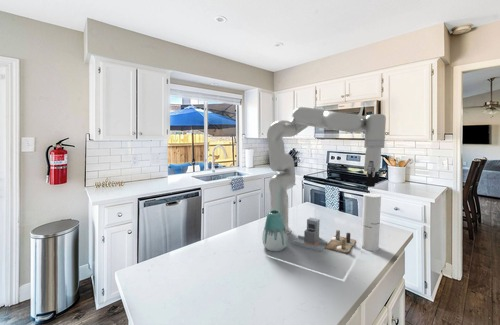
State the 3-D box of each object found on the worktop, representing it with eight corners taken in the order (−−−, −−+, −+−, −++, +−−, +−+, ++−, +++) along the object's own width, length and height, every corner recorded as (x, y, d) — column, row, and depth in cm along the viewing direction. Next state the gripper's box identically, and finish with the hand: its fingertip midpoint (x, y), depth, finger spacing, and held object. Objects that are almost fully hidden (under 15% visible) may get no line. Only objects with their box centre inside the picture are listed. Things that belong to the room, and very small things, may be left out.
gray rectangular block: (306, 238, 125) (306, 219, 123) (309, 235, 128) (310, 217, 127) (316, 241, 122) (316, 221, 120) (319, 238, 125) (319, 219, 124)
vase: (277, 257, 106) (277, 217, 104) (257, 249, 114) (256, 211, 112) (292, 247, 115) (292, 210, 113) (272, 240, 123) (272, 206, 120)
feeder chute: (291, 244, 118) (291, 240, 118) (298, 238, 125) (298, 235, 124) (321, 252, 110) (321, 248, 109) (327, 246, 116) (327, 242, 116)
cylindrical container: (380, 251, 110) (383, 197, 107) (363, 250, 112) (365, 196, 109) (375, 244, 117) (378, 193, 114) (359, 243, 119) (361, 192, 116)
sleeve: (304, 245, 116) (304, 231, 115) (308, 241, 120) (308, 227, 119) (314, 248, 113) (314, 233, 112) (318, 244, 117) (318, 230, 116)
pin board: (323, 249, 113) (324, 237, 112) (334, 237, 126) (334, 226, 125) (348, 255, 107) (348, 243, 106) (356, 242, 120) (357, 231, 119)
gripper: (368, 143, 112) (366, 180, 114) (360, 145, 98) (358, 187, 100) (387, 143, 107) (385, 182, 109) (381, 145, 94) (379, 189, 95)
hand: (372, 184), depth 105 cm, fingers open, 9 cm apart
